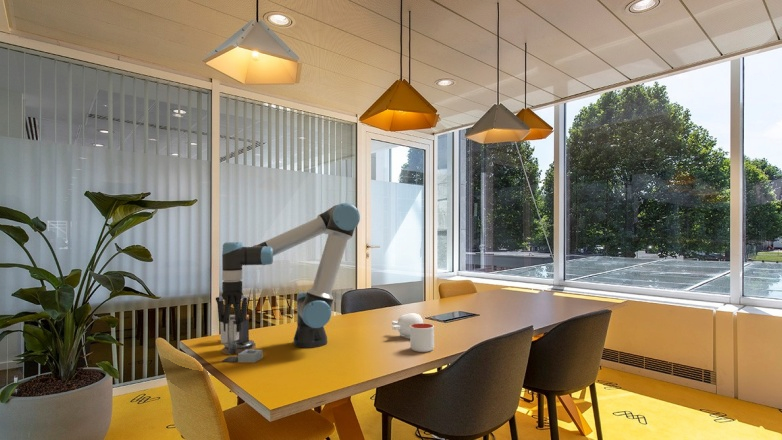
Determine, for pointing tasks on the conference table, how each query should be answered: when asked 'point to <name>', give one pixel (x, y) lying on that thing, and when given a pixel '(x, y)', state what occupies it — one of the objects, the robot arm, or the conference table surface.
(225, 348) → the plinth
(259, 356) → the eye block
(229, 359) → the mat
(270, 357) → the conference table surface
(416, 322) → the piggy bank
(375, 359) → the conference table surface
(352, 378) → the conference table surface
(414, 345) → the cup
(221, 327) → the mug
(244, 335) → the lever on round base
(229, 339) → the rod
